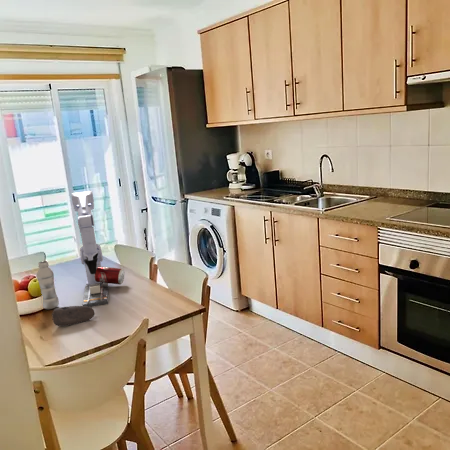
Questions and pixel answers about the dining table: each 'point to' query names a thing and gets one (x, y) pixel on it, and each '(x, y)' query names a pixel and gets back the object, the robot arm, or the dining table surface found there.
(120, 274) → the soda can
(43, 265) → the plastic bottle
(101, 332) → the dining table surface
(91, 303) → the fader panel
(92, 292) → the slider tab
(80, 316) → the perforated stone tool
